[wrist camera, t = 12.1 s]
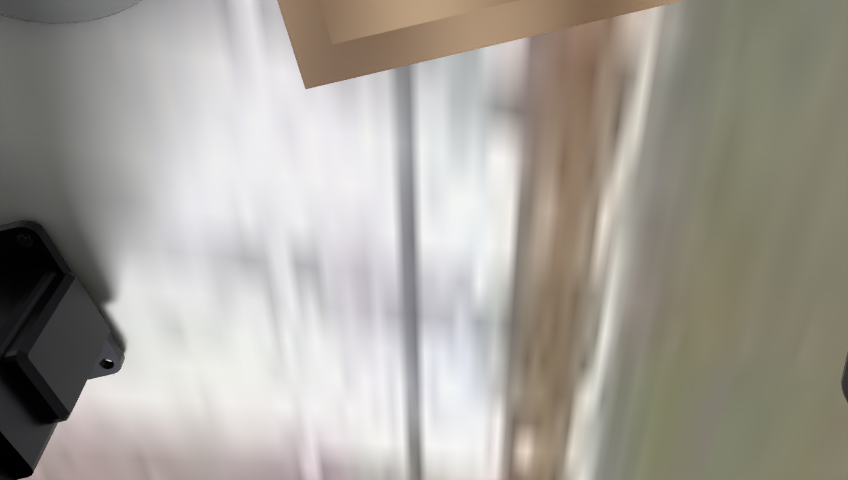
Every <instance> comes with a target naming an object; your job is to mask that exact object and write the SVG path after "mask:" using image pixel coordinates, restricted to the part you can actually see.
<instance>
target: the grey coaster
mask: <svg viewBox="0 0 848 480" xmlns="http://www.w3.org/2000/svg"><path fill="white" fill-rule="evenodd" d="M140 1H142V0H0V15H3V16H7V17H12V18H17V19H21V20H26V21H33V22H43V23H78V22H84V21H90V20H96V19H100V18H103V17H106V16H109V15H113V14H116V13H119V12H121V11H123V10H125V9H127V8H129V7H131V6H133V5H135V4H137V3H139V2H140Z"/></svg>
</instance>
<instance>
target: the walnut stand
mask: <svg viewBox="0 0 848 480" xmlns="http://www.w3.org/2000/svg"><path fill="white" fill-rule="evenodd" d="M679 1H683V0H278V4H279V7H280V10H281V13H282V16H283V19H284V23H285V26H286V29H287V32H288V35H289V38H290V41H291V45H292V48H293V51H294V54H295V57H296V60H297V63H298V67H299V70H300V73H301V76H302V79H303V82H304V86H305V89H308V88H313V87H317V86H321V85H325V84H330V83H334V82H338V81H343V80H347V79H351V78H355V77H360V76H364V75H368V74H372V73H377V72H381V71H385V70H389V69H394V68H398V67H402V66H406V65H411V64H415V63H419V62H423V61H428V60H432V59H436V58H440V57H445V56H449V55H453V54H458V53H462V52H466V51H470V50H475V49H479V48H483V47H487V46H492V45H496V44H500V43H504V42H509V41H513V40H517V39H521V38H526V37H530V36H534V35H538V34H543V33H547V32H551V31H555V30H560V29H564V28H568V27H573V26H577V25H581V24H585V23H590V22H594V21H598V20H602V19H607V18H611V17H615V16H619V15H624V14H628V13H632V12H636V11H641V10H645V9H649V8H653V7H658V6H662V5H666V4H670V3H675V2H679Z"/></svg>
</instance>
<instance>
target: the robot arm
mask: <svg viewBox="0 0 848 480" xmlns="http://www.w3.org/2000/svg"><path fill="white" fill-rule="evenodd" d="M22 234H27V235H30V236H31V237H32V238H33V240H28V239H26V238H25V237H23V236H22ZM124 358H125V357H124V354H123V352H122V351H121V349H120V348H119V346H118V344H117V343H116V341H115V340H114V338H113V336H112V335H111V333H110V328H109V326H108V325H107V323H106V322H105V320H104V318H103V317H102V315H101V314H100V312H99V311H98V309H97V307H96V306H95V304H94V303H93V301H92V299H91V298H90V296H89V295H88V293H87V291H86V290H85V288H84V287H83V285H82V284H81V282H80V280H79V279H78V278H77V277H76V276H75V275H74V274H73V273H72V272H71V270H70V269H69V267H68V265H67V264H66V262H65V261H64V259H63V258H62V256H61V254H60V253H59V251H58V250H57V248H56V247H55V245H54V243H53V242H52V240H51V239H50V237H49V235H48V234H47V232H46V231H45V229H44V228H43V227H42V226H41V225H39V224H37V223H36V222H32V221H19V222H15V223H10V224H6V225H2V226H0V480H17V479H22V478H26V477H29V476H31V475H32V474H33V472H34V470H35V468H36V466H37V464H38V462H39V460H40V458H41V456H42V454H43V452H44V450H45V448H46V446H47V444H48V442H49V440H50V438H51V436H52V434H53V431H54V429H55V427H56V425H57V423H58V422H62V421H66V420H67V419H68V418H69V416H70V414H71V412H72V410H73V408H74V406H75V404H76V402H77V400H78V398H79V396H80V394H81V392H82V389H83V387H84V385H85V383H86V381H87V380H88V379H92V378H97V377H101V376H106V375H110V374H114V373H116V372H118V371H119V370H120V369H121V367H122V365H123V362H124ZM105 359H109V360H111V361H113V362H109V361H106V360H105ZM841 384H842V390H843V394H844V396H845V398H846V400H847V402H848V353H847V358H846V362H845V367H844V371H843V375H842V381H841Z"/></svg>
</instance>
